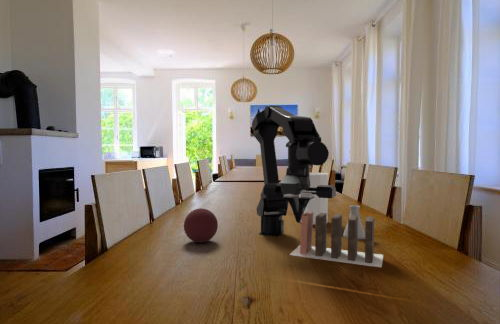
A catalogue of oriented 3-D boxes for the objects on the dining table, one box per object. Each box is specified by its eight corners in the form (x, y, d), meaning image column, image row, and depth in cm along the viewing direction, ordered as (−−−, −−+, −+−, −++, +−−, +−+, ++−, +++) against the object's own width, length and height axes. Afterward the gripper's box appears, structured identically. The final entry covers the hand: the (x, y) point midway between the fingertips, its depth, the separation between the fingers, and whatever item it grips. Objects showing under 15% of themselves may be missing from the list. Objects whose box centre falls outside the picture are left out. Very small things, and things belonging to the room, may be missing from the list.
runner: (289, 256, 84) (289, 254, 84) (300, 246, 94) (300, 244, 94) (381, 269, 75) (381, 267, 75) (383, 256, 85) (383, 254, 85)
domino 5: (364, 262, 79) (365, 220, 78) (367, 255, 84) (367, 216, 84) (372, 263, 78) (372, 221, 78) (373, 255, 84) (374, 216, 83)
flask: (368, 241, 99) (368, 208, 98) (343, 240, 100) (343, 207, 100) (364, 235, 106) (365, 204, 105) (341, 234, 107) (341, 203, 107)
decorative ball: (224, 241, 98) (224, 208, 98) (198, 249, 91) (197, 213, 90) (203, 235, 105) (203, 204, 104) (177, 242, 98) (176, 208, 97)
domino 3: (331, 257, 82) (331, 218, 82) (335, 251, 88) (335, 213, 87) (337, 258, 81) (338, 218, 81) (341, 251, 87) (341, 214, 87)
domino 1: (299, 253, 85) (301, 215, 85) (305, 247, 91) (307, 211, 90) (305, 254, 85) (307, 216, 84) (311, 248, 90) (313, 212, 90)
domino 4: (347, 260, 80) (348, 219, 80) (350, 253, 86) (351, 215, 86) (354, 261, 80) (354, 220, 79) (357, 253, 85) (357, 215, 85)
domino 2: (315, 255, 84) (315, 216, 83) (320, 249, 89) (320, 212, 89) (321, 256, 83) (321, 217, 83) (326, 250, 89) (326, 213, 88)
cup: (332, 221, 127) (332, 173, 126) (322, 226, 118) (322, 175, 117) (305, 217, 133) (305, 172, 132) (293, 222, 124) (293, 173, 123)
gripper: (254, 164, 84) (254, 225, 85) (327, 165, 77) (327, 232, 77) (270, 163, 94) (270, 217, 95) (336, 164, 87) (336, 223, 87)
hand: (298, 222), depth 88 cm, fingers closed
